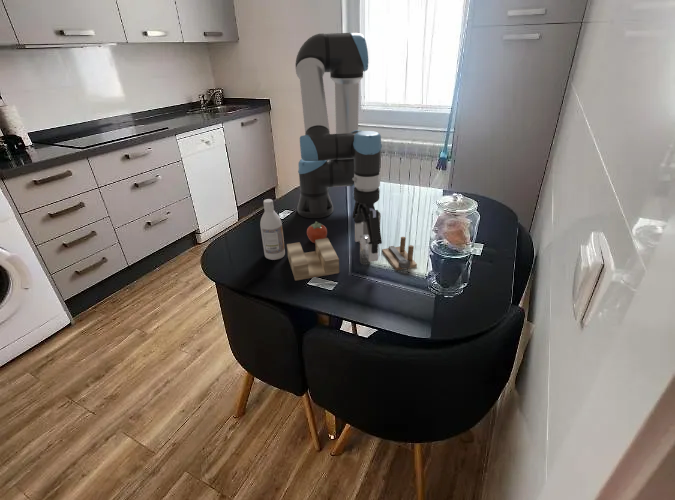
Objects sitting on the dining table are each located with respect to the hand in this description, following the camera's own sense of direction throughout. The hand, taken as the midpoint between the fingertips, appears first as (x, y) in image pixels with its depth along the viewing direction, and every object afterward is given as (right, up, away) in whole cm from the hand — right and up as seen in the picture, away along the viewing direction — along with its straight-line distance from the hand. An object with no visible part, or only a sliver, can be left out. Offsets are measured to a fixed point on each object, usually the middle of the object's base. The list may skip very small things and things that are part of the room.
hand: (365, 250), depth 116 cm
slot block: (-17, -5, +1) cm, 18 cm away
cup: (+2, +4, +16) cm, 16 cm away
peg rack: (+11, -3, +3) cm, 12 cm away
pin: (0, -4, +3) cm, 4 cm away
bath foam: (-30, -2, +7) cm, 31 cm away
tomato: (-16, +3, +15) cm, 22 cm away
